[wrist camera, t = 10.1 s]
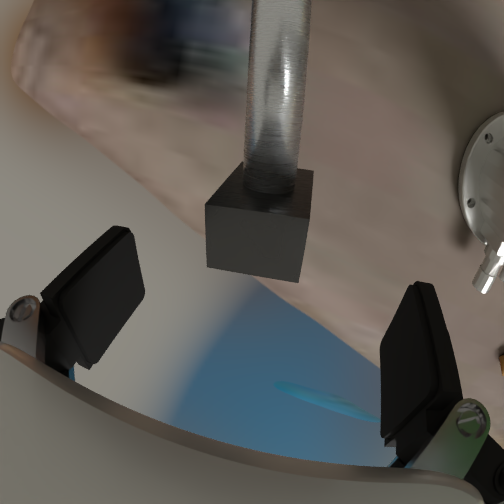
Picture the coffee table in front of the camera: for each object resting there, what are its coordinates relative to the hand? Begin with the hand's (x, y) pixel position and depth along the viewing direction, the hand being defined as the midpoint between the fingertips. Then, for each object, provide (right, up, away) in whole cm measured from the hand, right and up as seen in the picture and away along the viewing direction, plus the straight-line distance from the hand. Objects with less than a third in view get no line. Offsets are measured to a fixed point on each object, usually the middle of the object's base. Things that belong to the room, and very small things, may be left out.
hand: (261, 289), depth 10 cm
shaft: (+1, +12, +2) cm, 12 cm away
